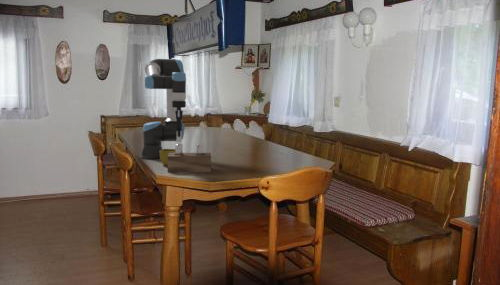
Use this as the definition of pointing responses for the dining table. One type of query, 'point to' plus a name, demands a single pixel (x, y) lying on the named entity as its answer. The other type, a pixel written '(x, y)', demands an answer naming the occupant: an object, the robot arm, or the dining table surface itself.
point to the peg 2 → (200, 149)
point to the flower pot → (165, 155)
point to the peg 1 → (178, 149)
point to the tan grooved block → (189, 162)
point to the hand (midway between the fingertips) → (179, 142)
